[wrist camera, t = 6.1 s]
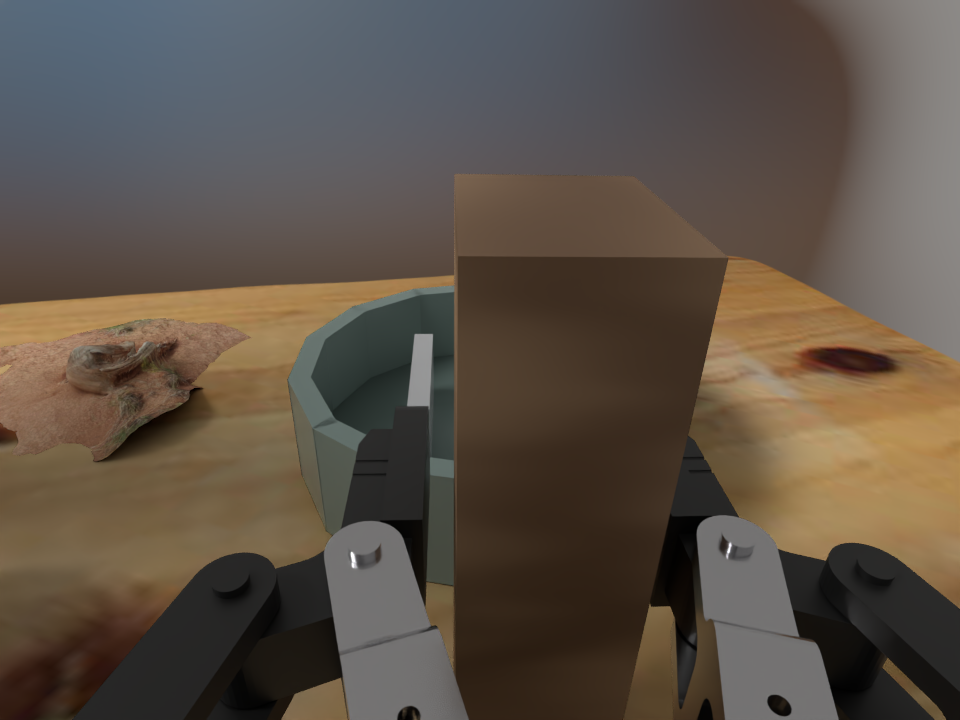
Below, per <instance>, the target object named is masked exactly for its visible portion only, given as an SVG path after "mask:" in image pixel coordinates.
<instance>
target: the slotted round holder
mask: <svg viewBox="0 0 960 720" xmlns="http://www.w3.org/2000/svg"><path fill="white" fill-rule="evenodd" d="M288 387H289V393H290V400H291V406H292V413H293V420H294V426H295V433H296V439H297V446H298V453H299V459H300V466H301V472H302V476H303V479H304V481H305V483H306V485H307V488H308V490H309V492H310V495H311V497H312V499H313V501H314V504H315V506H316V508H317V511H318V513H319V515H320V517H321V520H322V522H323V524H324V527H325V529H326V531H327V532H329V533H330V534H332V535H334V534H335V533H337V532H338V531H339V530H340V529H341V526H342V521H343V516H344V512H345V507H346V502H347V497H348V493H349V488H350V483H351V478H352V473H353V469H354V464H355V459H356V454H357V450H358V445H359V443H360V442H361V440H362V439H363V438H364V437H365V436H366V435H367V434H368V432H369V431H370V430H371V429H393V422H394V414H395V408H396V406H429V437H430V500H429V526H428V552H427V578H426V581H428V582H434V583H440V584H447V585H453V586H454V286H443V287H431V288H420V289H412V290H408V291H405V292H401V293H398V294H395V295H391V296H388V297H384V298H381V299H377V300H374V301H371V302H367V303H364V304H360V305H357V306H354V307H352V308H350V309H348V310H347V311H345V312H344V313H342V314H341V315H339V316H338V317H336V318H335V319H333V320H332V321H330V322H329V323H327V324H326V325H324V326H323V327H321V328H320V329H318V330H317V331H315V332H314V333H312V334H311V335H309V336H308V337H306V339H305V342H304V344H303V346H302V348H301V351H300V353H299V355H298V358H297V360H296V362H295V364H294V367H293V369H292V371H291V373H290V376H289V378H288Z"/></svg>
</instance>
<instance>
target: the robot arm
mask: <svg viewBox="0 0 960 720" xmlns="http://www.w3.org/2000/svg"><path fill="white" fill-rule="evenodd" d="M429 500H430V437H429V406H396V408H395V414H394V422H393V429H371V430H370V431H369V432H368V434H367V435H366V436H365V437H364V438H363V439H362V440H361V442H360V443H359V445H358V450H357V454H356V459H355V464H354V469H353V473H352V478H351V483H350V488H349V493H348V497H347V502H346V507H345V512H344V516H343V521H342V526H341V529H340V530H339V531H338V532H337V533H335V534H334V535H333V536H332V537H331V538H330V540H329V541H328V543H327V545H326V547H325V550H324V551H323V552H321V553H320V554H318V555H316V556H314V557H312V558H310V559H308V560H305V561H302V562H298V563H295V564H291V565H287V566H284V567H280V568H276V569H275V567H274V565H273V564H272V563H271V562H270V561H269V560H268V559H267V558H265V557H263V556H261V555H258V554H254V553H235V554H231V555H227V556H224V557H221V558H219V559H217V560H215V561H213V562H211V563H209V564H208V565H206V566H205V567H204V568H202V569H201V570H200V571H199V572H198V573H197V574H196V575H195V576H194V577H193V579H192V580H191V581H190V582H189V583H188V584H187V586H186V587H185V588H184V589H183V590H182V591H181V593H180V594H179V595H178V596H177V597H176V599H175V600H174V601H173V602H172V603H171V604H170V606H169V607H168V608H167V609H166V610H165V611H164V613H163V614H162V615H161V616H160V617H159V618H158V620H157V621H156V622H155V623H154V624H153V625H152V627H151V628H150V629H149V630H148V631H147V633H146V634H145V635H144V636H143V637H142V638H141V640H140V641H139V642H138V643H137V644H136V645H135V647H134V648H133V649H132V650H131V651H130V652H129V654H128V655H127V656H126V657H125V658H124V660H123V661H122V662H121V663H120V664H119V665H118V667H117V668H116V669H115V670H114V671H113V672H112V674H111V675H110V676H109V677H108V678H107V679H106V681H105V682H104V683H103V684H102V685H101V686H100V688H99V689H98V690H97V691H96V692H95V694H94V695H93V696H92V697H91V698H90V699H89V701H88V702H87V703H86V704H85V705H84V706H83V708H82V709H81V710H80V711H79V712H78V713H77V715H76V716H75V717H74V718H73V719H72V720H281V719H282V717H283V715H284V713H285V711H286V709H287V708H288V706H289V704H290V702H291V700H292V698H293V696H294V694H295V693H298V692H301V691H304V690H307V689H310V688H313V687H315V686H318V685H321V684H324V683H327V682H330V681H333V680H336V679H338V678H341V680H342V686H343V693H344V699H345V706H346V712H347V719H348V720H469V719H468V715H467V712H466V709H465V706H464V703H463V700H462V697H461V694H460V691H459V688H458V685H457V682H456V679H455V676H454V673H453V669H452V666H451V663H450V660H449V657H448V654H447V651H446V648H445V645H444V642H443V639H442V636H441V634H440V631H439V629H438V628H437V626H436V625H435V626H431V625H430V622H429V619H428V616H427V613H426V610H425V605H426V578H427V552H428V526H429ZM650 604H651V607H656V606H670V607H671V609H672V612H673V615H674V621H673V625H672V628H671V664H672V696H673V720H934V719H933V718H932V717H931V716H930V715H929V714H928V713H927V712H926V711H925V710H924V709H923V708H922V707H921V706H920V705H919V704H918V703H917V702H916V701H915V700H914V699H913V698H912V697H911V696H910V695H909V694H908V693H907V692H906V691H905V690H904V689H903V688H902V687H901V686H900V685H899V684H898V683H897V682H896V681H895V680H894V679H893V678H892V677H891V676H890V675H889V674H888V673H887V672H886V671H885V670H884V669H883V668H882V667H883V665H884V663H885V661H886V659H887V657H888V658H889V659H890V660H891V661H892V662H893V663H894V664H895V665H896V666H897V667H898V668H899V669H900V670H901V671H902V672H903V673H904V674H905V675H906V676H907V677H908V678H909V679H910V680H911V681H912V682H913V683H914V684H915V685H916V686H917V687H918V688H919V689H920V690H922V691H923V692H924V693H925V694H926V695H927V696H928V697H929V698H930V699H931V700H932V701H933V702H934V703H935V704H936V705H937V706H938V707H939V709H940V710H941V711H942V713H943V714H944V716H945V718H946V720H960V609H959V608H958V607H957V606H955V605H954V604H953V603H952V602H950V601H949V600H948V599H947V598H946V597H944V596H943V595H942V594H941V593H939V592H938V591H937V590H936V589H934V588H933V587H932V586H931V585H929V584H928V583H927V582H926V581H925V580H923V579H922V578H921V577H920V576H918V575H917V574H916V573H915V572H913V571H912V570H911V569H910V568H908V567H907V566H906V565H905V564H904V563H902V562H901V561H900V560H898V559H897V558H895V557H894V556H892V555H890V554H889V553H887V552H884V551H882V550H880V549H878V548H875V547H872V546H869V545H864V544H859V543H844V544H840V545H838V546H835V547H834V548H833V549H832V550H831V551H830V553H829V555H828V558H827V560H826V561H824V560H820V559H815V558H811V557H806V556H802V555H798V554H793V553H789V552H785V551H782V550H780V549H777V546H776V544H775V542H774V540H773V539H772V538H771V537H770V535H769V534H767V533H766V532H765V531H764V530H763V529H761V528H760V527H759V526H757V525H755V524H754V523H752V522H749V521H747V520H745V519H742V518H739V516H738V515H737V513H736V511H735V510H734V508H733V506H732V504H731V503H730V501H729V499H728V497H727V496H726V494H725V492H724V491H723V489H722V487H721V485H720V484H719V482H718V480H717V479H716V477H715V475H714V473H712V472H711V468H710V467H709V465H708V463H707V461H706V460H704V456H703V454H702V453H701V451H700V449H699V448H698V446H697V444H696V442H695V441H694V440H693V439H692V438H690V437H689V436H688V437H687V442H686V446H685V450H684V455H683V459H682V463H681V468H680V472H679V477H678V481H677V485H676V490H675V494H674V499H673V503H672V507H671V512H670V516H669V520H668V525H667V529H666V534H665V538H664V542H663V547H662V551H661V555H660V560H659V564H658V569H657V573H656V577H655V582H654V586H653V590H652V595H651V599H650Z"/></svg>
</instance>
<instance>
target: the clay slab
mask: <svg viewBox="0 0 960 720" xmlns="http://www.w3.org/2000/svg"><path fill="white" fill-rule="evenodd" d="M249 338H252V337H249V336H247V335H246V334H243V333H241V332H239V331H238V330H237V329H233V328H231V327H227V326H225V325H222V324H218V323H201V324H197V323H186V322H183V321H178V320H174V319H166V318H160V319H143V320H136V321H132V322H129V323H126V324H122V325H118V326H114V327H109V328H104V329H96V330H91V331H87V332H83V333H78V334H75V335H72V336H69V337H66V338H64V339H60V340H57V341H53V342H47V343H26V344H21V345H14V346H6V347H1V348H0V367H3V366H5V365H12V367H10V368H9V369H8V370H7V371H6V372H4V373H3V374H1V375H0V423H2V424H3V427H6V428H7V429H8V430H12V431H17V432H16V435H17V438H18V444H17V446H16V447H15V448H14V450H13V453H12V454H14V455H19V456H21V455H25V454H29V453H31V454H38V453H40V452H42V451H45V450H47V449H49V448H52V447H54V446H56V445H59V444H62V443H77V444H79V443H80V444H82V445H84V446H86V447H88V448H91V449H92V451H91V452H92V454H93V456H94V460H93V461H99V460H102V459H104V458H106V457H108V456H109V455H110V454H111V453H112V452H113V451H115V450H116V449H117V448H118V447H119V446H120V445H121V444H122V443H123V442H124V441H125V440H126V438H127V437H128V436H129V435H130V434H131V433H132V432H134V431H135V430H137V428H138V427H140V426H142V425H143V424H145V423H148V422H149V421H150V420H152V419H153V418H155V417H158V416H159V415H161V414H162V413H164V412H167V411H170V410H173V409H175V408H177V407H178V406H180V405H181V404H183V403H185V402H186V401H187V400H188V399H189V396H190V394H189V392H190V390H192V389H194V388H201V387H196V386H193V385H191V384H190V383H192V382H194V381H195V380H196V379H197V377H198V376H199V375H200V374H201V373H202V372H204V371H205V370H206V369H207V367H208V365H209V364H210V363H211V362H214V361H215V359H217V358H218V357H219V356H220V353H222V352H224V351H226V350H227V349H229V348H231V347H233V346H235V345H236V344H238V343H240V342H241V341H244V340H246V339H249Z"/></svg>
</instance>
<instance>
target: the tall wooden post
mask: <svg viewBox="0 0 960 720" xmlns="http://www.w3.org/2000/svg"><path fill="white" fill-rule="evenodd" d="M454 196H455V199H454V201H455V202H454V204H455V205H454V207H455V208H454V210H455V212H454V214H455V215H454V220H455V221H454V231H455V232H454V239H455V240H454V242H455V243H454V249H455V250H454V251H455V252H454V255H455V256H454V676H455V679H456V682H457V685H458V688H459V691H460V694H461V697H462V700H463V703H464V706H465V709H466V712H467V715H468V719H469V720H623V717H624V713H625V709H626V704H627V700H628V695H629V691H630V687H631V682H632V678H633V674H634V669H635V665H636V660H637V656H638V652H639V647H640V643H641V639H642V634H643V630H644V625H645V621H646V617H647V612H648V608H649V604H650V599H651V595H652V590H653V586H654V582H655V577H656V573H657V569H658V564H659V560H660V555H661V551H662V547H663V542H664V538H665V534H666V529H667V525H668V520H669V516H670V512H671V507H672V503H673V499H674V494H675V490H676V485H677V481H678V477H679V472H680V468H681V463H682V459H683V455H684V450H685V446H686V442H687V437H688V433H689V428H690V424H691V420H692V415H693V411H694V407H695V402H696V398H697V393H698V389H699V385H700V380H701V376H702V372H703V367H704V363H705V358H706V354H707V350H708V345H709V341H710V337H711V332H712V328H713V323H714V319H715V315H716V310H717V306H718V302H719V297H720V293H721V288H722V284H723V280H724V275H725V271H726V267H727V262H728V257H727V256H726V255H725V254H724V253H722V252H721V251H720V250H719V249H718V248H717V247H715V246H714V245H713V244H712V243H711V242H710V241H708V240H707V239H706V238H705V237H704V236H703V235H701V234H700V233H699V232H698V231H697V230H696V229H694V228H693V227H692V226H691V225H690V224H689V223H688V222H686V221H685V220H684V219H683V218H681V216H679V215H678V214H677V213H676V212H675V211H674V210H672V209H671V208H670V207H669V206H668V205H667V204H665V203H664V202H663V201H662V200H661V199H660V198H658V197H657V196H656V195H655V194H654V193H653V192H651V191H650V190H649V189H648V188H647V187H646V186H644V185H643V184H642V183H641V182H640V181H639V180H638V179H636V178H635V177H634V176H577V175H497V174H496V175H495V174H492V175H491V174H455V195H454Z"/></svg>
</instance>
